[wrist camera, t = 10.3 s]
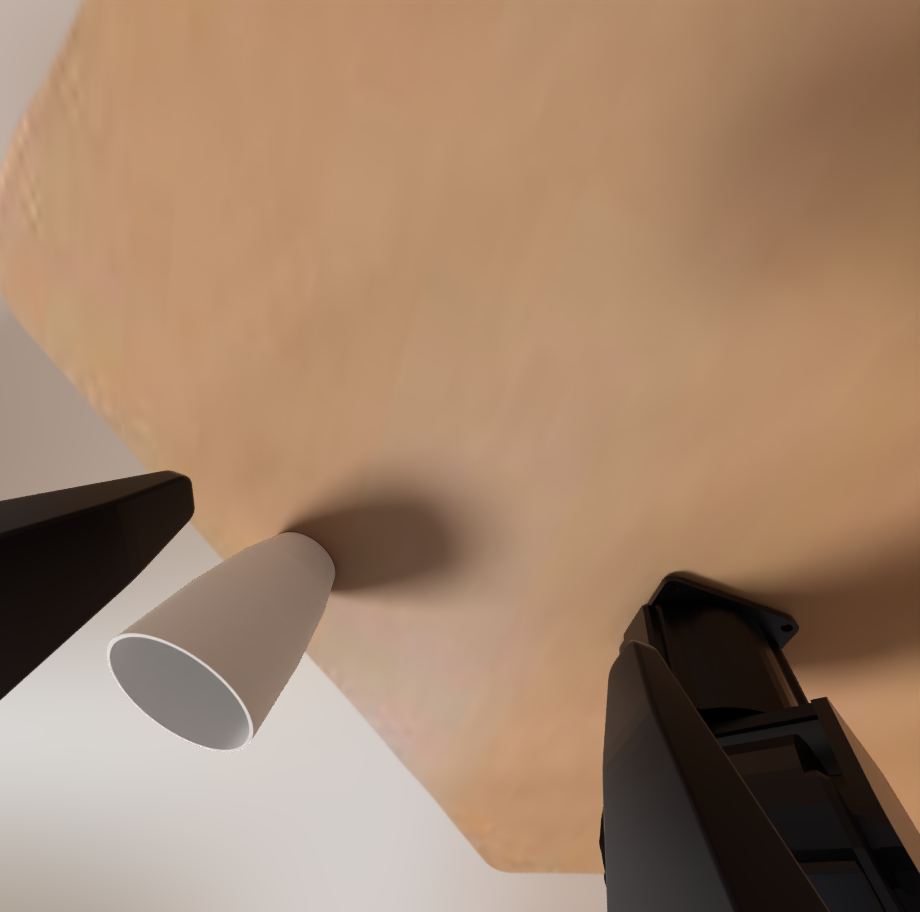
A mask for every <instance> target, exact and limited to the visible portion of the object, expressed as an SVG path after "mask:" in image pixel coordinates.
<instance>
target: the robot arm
mask: <svg viewBox="0 0 920 912" xmlns="http://www.w3.org/2000/svg"><path fill="white" fill-rule="evenodd" d="M194 509H195V507H194V498H193V489H192V482H191V480H190V478H189V477H187V476H185V475H183V474H180V473H177V472H174V471H170V470H167V471H161V472H155V473H150V474H145V475H139V476H133V477H128V478H122V479H117V480H112V481H107V482H101V483H95V484H90V485H84V486H79V487H74V488H68V489H63V490H57V491H52V492H46V493H41V494H36V495H31V496H25V497H19V498H14V499H8V500H3V501H0V700H1V699H2V698H3V697H5V696H6V695H7V694H8V693H9V692H10V691H11V690H12V689H13V688H15V687H16V686H17V685H18V684H19V683H20V682H21V681H22V680H23V679H24V678H26V677H27V676H28V675H29V674H30V673H31V672H32V671H33V670H34V669H36V668H37V667H38V666H39V665H40V664H41V663H42V662H43V661H45V660H46V659H47V658H48V657H49V656H50V655H51V654H52V653H53V652H55V651H56V650H57V649H58V648H59V647H60V646H61V645H62V644H63V643H64V642H66V641H67V640H68V639H69V638H70V637H71V636H72V635H73V634H74V633H75V632H76V631H78V630H79V629H80V628H81V627H82V626H83V625H84V624H86V623H87V622H88V621H89V620H90V619H91V618H92V617H93V616H94V615H95V614H97V613H98V612H99V611H100V610H101V609H102V608H103V607H104V606H106V605H107V604H108V603H109V602H110V601H111V600H112V599H113V598H114V597H116V596H117V595H118V594H119V593H120V592H121V591H122V590H123V589H124V588H125V587H126V586H127V585H129V584H130V583H131V582H132V581H133V580H134V579H135V578H136V577H137V576H138V575H139V574H140V573H141V572H142V570H144V569H145V568H146V567H147V565H148V564H149V563H150V562H151V561H152V560H153V559H154V558H155V557H156V556H157V554H159V553H160V551H161V550H162V549H163V548H164V547H165V546H166V545H167V544H168V543H169V542H170V541H171V540H172V539H173V538H174V536H175V535H176V534H177V533H178V532H179V531H180V530H181V529H182V528H183V527H184V525H186V524H187V523H188V521H189V520H190V519H191V517H192V516H193V513H194ZM670 585H677V586H675V587H670ZM784 624H787V625H784ZM782 625H784V626H782ZM798 630H799V626H798V624H797V622H796V621H795V619H794V618H793V617H792V616H790V615H787V614H785V613H782V612H779V611H776V610H773V609H770V608H767V607H764V606H761V605H759V604H756V603H753V602H750V601H747V600H744V599H741V598H738V597H735V596H733V595H730V594H727V593H724V592H721V591H718V590H715V589H712V588H709V587H707V586H704V585H701V584H698V583H695V582H692V581H689V580H686V579H683V578H681V577H678V576H673V575H672V576H667V577H665V578H664V579H663V580H662V581H661V583H660V585H659V586H658V588H657V589H656V591H655V592H654V594H653V596H652V597H651V599H650V600H649V602H648V603H647V604H645V605H643V606H641V608H640V610H639V611H638V613H637V614H636V616H635V618H634V619H633V621H632V622H631V624H630V625H629V627H628V629H627V630H626V632H625V633H624V641H623V643H622V644H621V646H620V648H619V652H620V655H619V656H618V658H617V659H616V661H615V662H614V664H613V665H612V667H611V670H610V673H609V679H608V692H607V707H606V722H605V737H604V752H603V804H604V806H603V812H602V818H601V828H600V839H599V844H600V849H601V853H602V859H603V865H604V869H605V873H604V880H605V884H606V887H607V912H920V834H919V832H918V830H917V829H916V827H915V826H914V824H913V822H912V821H911V819H910V817H909V816H908V814H907V812H906V811H905V809H904V808H903V806H902V804H901V803H900V801H899V799H898V798H897V796H896V794H895V793H894V791H893V790H892V788H891V786H890V785H889V783H888V781H887V780H886V778H885V777H884V775H883V773H882V772H881V771H880V769H879V768H878V766H877V765H876V764H875V762H874V761H873V760H872V758H871V757H870V755H869V754H868V753H867V751H866V750H865V749H864V747H863V746H862V744H861V743H860V742H859V740H858V739H857V738H856V736H855V735H854V734H853V732H852V731H851V729H850V728H849V727H848V725H847V724H846V723H845V721H844V720H843V718H842V717H841V716H840V714H839V713H838V712H837V710H836V709H835V708H834V706H833V705H832V703H831V702H830V701H829V699H828V698H827V697H823V698H818V699H813V700H811V703H809V702H808V701H807V699H806V697H805V695H804V693H803V691H802V689H801V687H800V685H799V683H798V681H797V679H796V677H795V675H794V673H793V671H792V669H791V667H790V665H789V664H788V662H787V660H786V658H785V656H784V654H783V652H782V650H781V649H782V648H783V647H784V646H785V644H786V643H787V642H788V641H789V640H790V639H791V638H792V637H793V636H794V635H795V634H796V633H797V632H798Z"/></svg>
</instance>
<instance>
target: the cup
mask: <svg viewBox="0 0 920 912" xmlns="http://www.w3.org/2000/svg"><path fill="white" fill-rule="evenodd" d="M334 578H335V567H334V564H333V561H332V559H331V557H330V556H329V554H328V553H327V552H326V550H325V549H324V548H323V547H322V546H321V545H320V544H318V543H317V542H316V541H314V540H313V539H311V538H309V537H307V536H305V535H303V534H299V533H294V532H286V533H282V534H279V535H277V536H274V537H272V538H270V539H267V540H265V541H263V542H260V543H258V544H255V545H253V546H251V547H248V548H246V549H244V550H243V551H241V552H239V553H238V554H236V555H234V556H232V557H231V558H229V559H227V560H226V561H224V562H222V563H221V564H219V565H217V566H216V567H214V568H212V569H211V570H209V571H207V572H206V573H204V574H202V575H201V576H199V577H197V578H196V579H194V580H192V581H191V582H190V583H188V584H187V585H186V586H184V587H183V588H182V589H180V590H179V591H177V592H176V593H175V594H174V595H172V596H171V597H169V598H168V599H167V600H165V601H164V602H163V603H161V604H160V605H159V606H157V607H156V608H154V609H153V610H152V611H150V612H149V613H147V614H146V615H145V616H144V617H142V618H141V619H140V620H138V621H137V622H135V623H134V624H133V625H131V626H130V627H128V628H127V629H126V630H124V631H123V632H122V633H120V634H119V635H118V636H117V637H115V638H114V639H112V640H111V641H110V643H109V645H108V648H107V653H106V654H107V662H108V666H109V669H110V671H111V673H112V675H113V677H114V679H115V681H116V682H117V684H118V685H119V687H120V688H121V689H122V691H123V692H124V693H125V694H126V696H127V697H128V698H129V699H130V700H131V701H132V702H133V703H134V704H135V705H136V706H137V707H138V708H139V709H140V710H141V711H142V712H143V713H144V714H145V715H147V716H148V717H149V718H150V719H152V720H153V721H154V722H156V723H157V724H158V725H160V726H161V727H163V728H164V729H166V730H167V731H169V732H170V733H172V734H174V735H176V736H177V737H179V738H181V739H183V740H185V741H187V742H189V743H192V744H194V745H197V746H199V747H202V748H206V749H209V750H214V751H219V752H235V751H239V750H242V749H244V748H245V747H247V746H248V745H249V743H250V742H251V740H252V739H253V737H254V736H255V734H256V732H257V731H258V729H259V727H260V726H261V724H262V723H263V721H264V719H265V718H266V716H267V715H268V713H269V711H270V710H271V708H272V706H273V705H274V703H275V701H276V700H277V698H278V697H279V695H280V693H281V692H282V690H283V689H284V687H285V685H286V684H287V682H288V680H289V679H290V677H291V675H292V674H293V672H294V671H295V669H296V668H297V666H298V664H299V662H300V660H301V658H302V656H303V654H304V652H305V650H306V648H307V646H308V644H309V642H310V640H311V638H312V636H313V633H314V631H315V629H316V627H317V625H318V623H319V621H320V619H321V617H322V615H323V613H324V610H325V607H326V604H327V601H328V597H329V594H330V591H331V588H332V585H333V582H334Z"/></svg>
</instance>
